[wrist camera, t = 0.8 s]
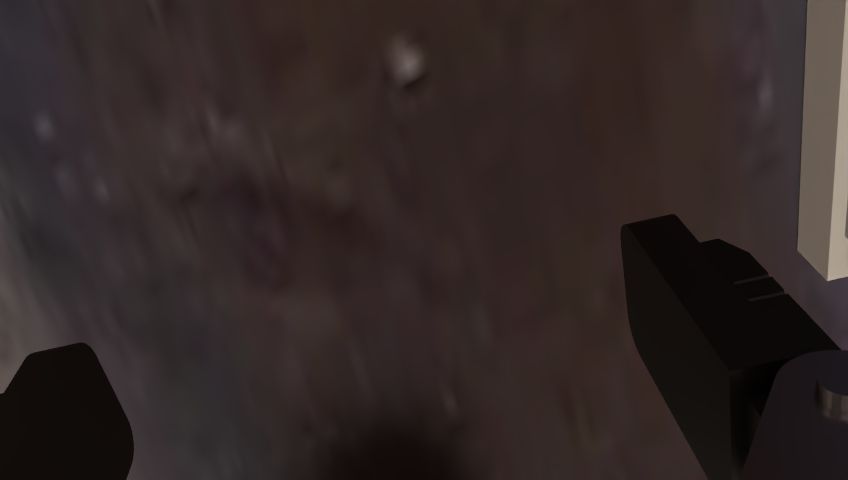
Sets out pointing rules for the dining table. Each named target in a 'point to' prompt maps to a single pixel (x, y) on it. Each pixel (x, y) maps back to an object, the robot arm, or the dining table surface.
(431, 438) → the dining table surface
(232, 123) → the dining table surface
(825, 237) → the white stepped base
